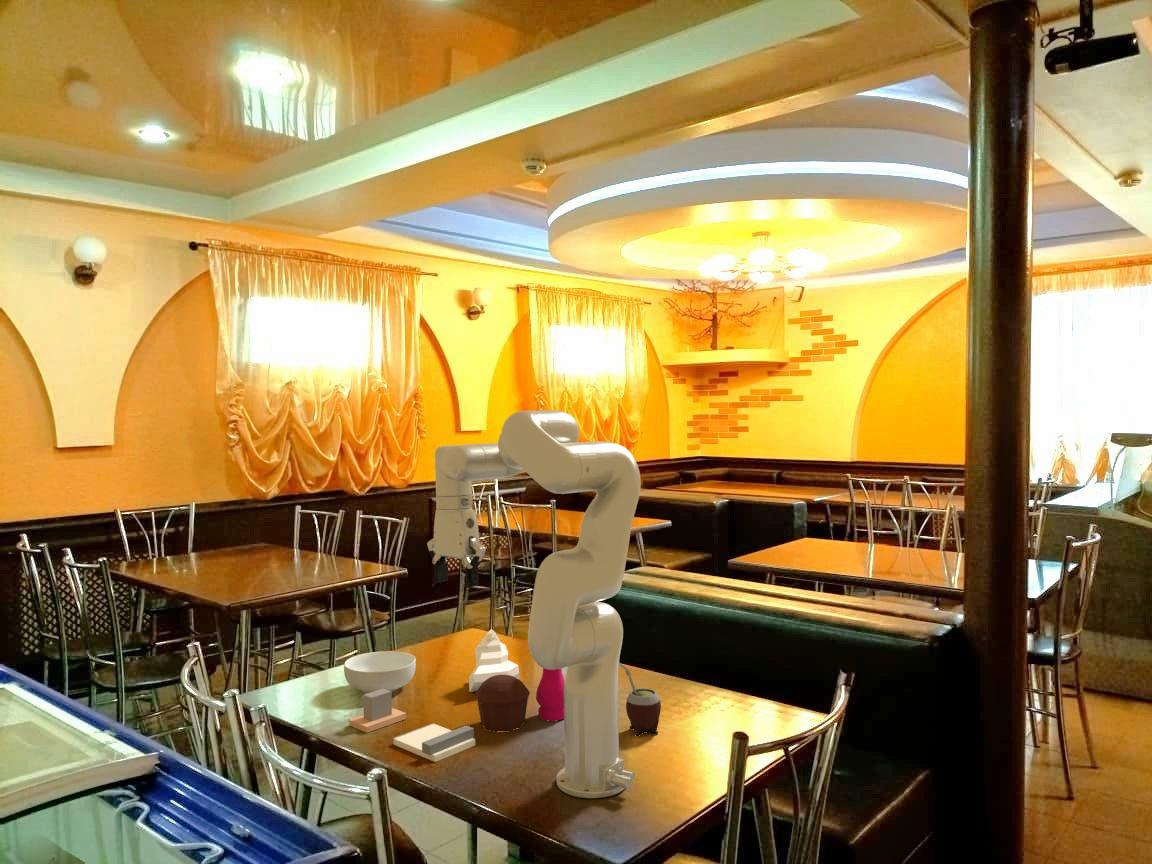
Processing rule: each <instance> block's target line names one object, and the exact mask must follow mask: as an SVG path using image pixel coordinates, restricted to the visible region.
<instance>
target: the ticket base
mask: <svg viewBox="0 0 1152 864" xmlns="http://www.w3.org/2000/svg"><path fill="white" fill-rule="evenodd" d="M392 745H394V746H397V747H399V748H401V749H403V750H406V751H408V752H411V753H413V754H415V755H418V756H420V757H422V758H425V759H426V760H429V761H431V762H435V763H437V762H440V761H441V760H443V759H446V758H448V757H451V756H453V755H456V754H458V753H461V752H463V751H466V750H468V749H470V748H473V747H475V746H476V738H475V728H474V727H471V726H469V725H463V726H461V727H458V728H456V729H453V730H451V729H449V728H446V727H443V726H441V725H438V724H436V723H433V722H432V723H429V724H426V725H423V726H422V727H419V728H416V729H413V730H411V731H408V732H404V733H402V734H400V735H397V736H395V737H392Z"/></svg>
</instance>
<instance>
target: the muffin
mask: <svg viewBox="0 0 1152 864" xmlns="http://www.w3.org/2000/svg"><path fill="white" fill-rule="evenodd" d="M475 692H476V693H474V695H475V697H476V699H477V701H476V702H477V705H478V711H479V718H480V724H481V726H482V727H483V726H484V727H483V729H484V728H485V729H486V730H485V729H484V730H485V731H487V730H491V731H490V732H492V731H495V732H497V731H511V730H513V729H516V728H520V727H521V728H522V726H523V725H524V724H525V721H526V713H527V707H528V699H529V696H530V694H531V692H530V690H529V689H528V688H527V687H526V685H525V684H524V682H523V681H522V680H521V679H520V678H519V679H517V678H516V677H513V676H511V675H495V676H492V677H490V678H488V679H487V680H485V681H484V682H483V683H482V685H481V686H480V687H479V689H478V691H475ZM523 723H524V724H523ZM522 724H523V725H522ZM521 725H522V726H521ZM521 728H520V729H521ZM495 732H494V733H495ZM511 732H512V731H511Z"/></svg>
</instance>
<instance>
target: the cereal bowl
mask: <svg viewBox="0 0 1152 864" xmlns="http://www.w3.org/2000/svg"><path fill="white" fill-rule="evenodd" d="M416 658H417V657H415V655H413V654H411V653H407V652H402V651H392V650H391V651H388V650H387V651H385V650H384V651H374V652H373V651H372V652H371V651H370V652H367V653H360V654H357V655H354V656H352V657H349V658H348V659H347V660H345V662H344V664H343V673H344V677H345V681H346V682H347V683H348V684H349V685H350V687H352V688H353V689H356V690H358V691H360V692H363V693H364V694H367V693H370V692H373V691H377V690H380V689H386V690H389V691H391V693H394V692H395V691H397V690H398V689H400V688H401V687H405V686H406V685H407V684H408V683H410V681H411V680H412V679H413V677H414V675H415V673H416V667H417V659H416Z"/></svg>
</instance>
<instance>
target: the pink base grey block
mask: <svg viewBox="0 0 1152 864" xmlns="http://www.w3.org/2000/svg"><path fill="white" fill-rule="evenodd" d="M392 695H393V694H392V692H391V691H389V690H386V689H380V690H377V691H373V692H370V693H367V694H366V693H364V694H363V695H362V697H363V698H362V700H363V704H362V705H363V714H362V715H359V716H357V717H353V718H350V719H348V726H350V727H352V728H354V729H357V730H358V731H362V732H364V733H371V732H374V731H375V730H376V731H377V730H378V729H382V728H384V727H387V726H390V725H393V724H395V723H398V722H401V721H403V720H406V719H407V712H404V711H401V710H399V709H396V708H393V705H392V704H393V702H392V701H393V700H392Z"/></svg>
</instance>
